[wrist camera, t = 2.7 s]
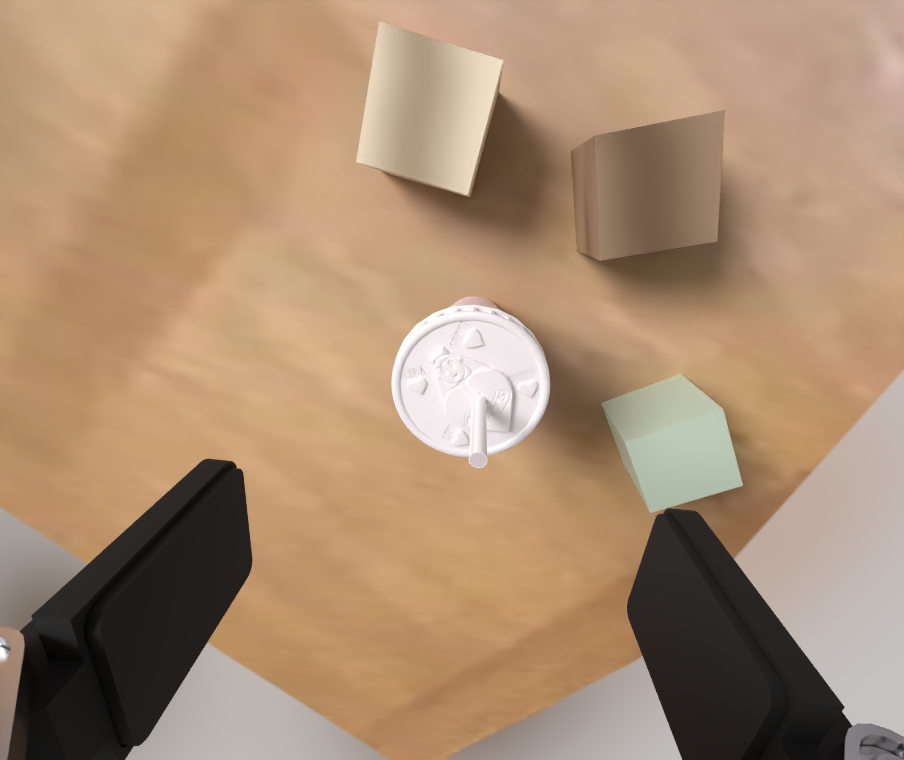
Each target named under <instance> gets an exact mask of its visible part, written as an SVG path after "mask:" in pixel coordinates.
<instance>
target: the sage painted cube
mask: <svg viewBox="0 0 904 760" xmlns="http://www.w3.org/2000/svg"><path fill="white" fill-rule="evenodd" d="M601 405H602V407H603V410H604V413H605V415H606V418H607V421H608V424H609V426H610V429H611V432H612V434H613V437H614V440H615V443H616V445H617V448H618V451H619V453H620V456H621V459H622V462H623V464H624V466H625V468H626V470H627V472H628V474H629V475H630V477H631V479H632V481H633V483H634V484H635V486H636V488H637V490H638V492H639V494H640V495H641V497H642V499H643V501H644V503H645V504H646V506H647V508H648V510H649V512H650V513H652V512H656V511H659V510H663V509H666V508H669V507H673V506H676V505H679V504H683V503H686V502H690V501H693V500H696V499H700V498H703V497H706V496H710V495H713V494H717V493H720V492H723V491H727V490H730V489H733V488H737V487H740V486H743V484H742V480H741V476H740V472H739V468H738V464H737V461H736V457H735V453H734V449H733V445H732V441H731V437H730V434H729V430H728V426H727V422H726V418H725V414H724V411H723V409H722V408H721V407H720V406H719V405H718V404H716V403H715V402H714V401H713V400H712V399H710V398H709V397H708V396H707V395H706V394H704V393H703V392H702V391H701V390H700V389H698V388H697V387H696V386H695V385H694V384H692V383H691V382H690V381H689V380H688V379H686V378H685V377H684V376H683V375H682V374H679V375H676V376H673V377H671V378H668V379H665V380H662V381H660V382H657V383H654V384H651V385H649V386H646V387H643V388H640V389H638V390H635V391H632V392H629V393H626V394H624V395H621V396H618V397H615V398H613V399H610V400H607V401H604V402H602V403H601Z"/></svg>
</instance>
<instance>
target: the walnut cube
mask: <svg viewBox="0 0 904 760" xmlns="http://www.w3.org/2000/svg"><path fill="white" fill-rule="evenodd" d="M724 115H725V110H723V111H718V112H713V113H708V114H703V115H698V116H693V117H688V118H683V119H678V120H673V121H668V122H662V123H657V124H652V125H647V126H642V127H637V128H632V129H627V130H622V131H617V132H612V133H607V134H602V135H597V136H594V137H592V138H591V139H589V140H588V141H586V142H584V143H583V144H581V145H580V146H578V147H577V148H575V149H574V150H572V151H571V159H572V175H573V192H574V208H575V225H576V242H577V251H579V252H581V253H583V254H586V255H588V256H590V257H592V258H595V259H597V260H599V261H602V260H608V259H614V258H620V257H626V256H632V255H638V254H645V253H651V252H657V251H663V250H669V249H675V248H681V247H688V246H694V245H700V244H706V243H712V242H717V241H718V223H719V205H720V187H721V169H722V151H723V133H724Z"/></svg>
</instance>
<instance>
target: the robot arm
mask: <svg viewBox="0 0 904 760" xmlns="http://www.w3.org/2000/svg"><path fill="white" fill-rule="evenodd" d="M251 567H252V552H251V542H250V533H249V523H248V514H247V505H246V495H245V486H244V476H243V472H242V470H241V469H238V468H237V467H236V465H235V463H234V462H232V461H225V460H215V459H205V460H203V461H202V462H200V463H199V464H198V465H197V466H196V467H195V468H194V469H193V470H192V471H190V472H189V473H188V474H187V475H186V476H185V477H184V478H183V479H182V480H180V481H179V482H178V483H177V484H176V485H175V486H174V487H173V488H172V489H171V490H169V491H168V492H167V493H166V494H165V495H164V496H163V497H162V498H161V499H160V500H158V501H157V502H156V503H155V504H154V505H153V506H152V507H151V508H150V509H149V510H147V511H146V512H145V513H144V514H143V515H142V516H141V517H140V518H139V519H137V520H136V521H135V522H134V523H133V524H132V525H131V526H130V527H129V528H128V529H126V530H125V531H124V532H123V533H122V534H121V535H120V536H119V537H118V538H117V539H115V540H114V541H113V542H112V543H111V544H110V545H109V546H108V547H107V548H105V549H104V550H103V551H102V552H101V553H100V554H99V555H98V556H97V557H96V558H94V559H93V560H92V561H91V562H90V563H89V564H88V565H87V566H86V567H85V568H84V569H83V570H81V571H80V572H79V573H78V574H77V575H76V576H75V577H74V578H73V579H71V580H70V581H69V582H68V583H67V584H66V585H65V586H64V587H62V588H61V589H60V590H59V591H58V592H57V593H56V594H55V595H54V596H53V597H51V598H50V599H49V600H48V601H47V602H46V603H45V604H44V605H43V606H42V607H41V608H39V609H38V610H37V611H36V612H35V613H34V614H33V615H32V619H33V620H32V621H31V622H30V623H28V624H27V625H26V626H25V627H24V628H23V629H22V630H21V631H20V632H19V631H18V630H17V629H14V628H9V627H5V626H0V760H125V759H126V757H127V756H128V754H129V753H130V751H131V749H132V748H133V746H139V745H140V744H142V743H143V742H144V741H145V740H146V739H147V737H148V736H149V735H150V733H151V732H152V730H153V728H154V727H155V725H156V723H157V722H158V720H159V719H160V717H161V715H162V714H163V712H164V711H165V709H166V707H167V706H168V704H169V703H170V701H171V700H172V698H173V696H174V695H175V693H176V691H177V690H178V688H179V687H180V685H181V683H182V682H183V680H184V679H185V677H186V675H187V674H188V672H189V671H190V669H191V667H192V666H193V664H194V663H195V661H196V659H197V658H198V656H199V655H200V653H201V651H202V649H203V648H204V647H205V645H206V643H207V642H208V640H209V639H210V637H211V635H212V634H213V632H214V631H215V629H216V627H217V626H218V624H219V623H220V621H221V619H222V618H223V616H224V615H225V613H226V611H227V610H228V608H229V607H230V605H231V603H232V602H233V600H234V599H235V597H236V595H237V594H238V592H239V590H240V589H241V587H242V586H243V584H244V582H245V581H246V579H247V578H248V576H249V573H250V571H251ZM627 613H628V618H629V621H630V624H631V626H632V629H633V632H634V634H635V637H636V639H637V642H638V645H639V647H640V650H641V653H642V655H643V658H644V660H645V663H646V666H647V668H648V671H649V674H650V676H651V678H652V681H653V684H654V686H655V689H656V692H657V694H658V697H659V700H660V702H661V705H662V708H663V710H664V713H665V716H666V718H667V721H668V723H669V726H670V729H671V731H672V734H673V736H674V739H675V741H676V744H677V747H678V750H679V752H680V755H681V757H682V760H904V737H903V736H901V735H899V734H897V733H895V732H893V731H891V730H889V729H886V728H883V727H880V726H877V725H873V724H856V725H854V726H852V725H851V723H850V722H849V721H848V719H847V718H846V717H845V715H844V714H843V713H842V710H843V709H844V706H843V704H842V703H841V702H840V700H839V699H838V698H837V696H836V695H835V694H834V692H833V691H832V690H831V689H830V687H829V686H828V684H827V683H826V682H825V680H824V679H823V678H822V676H821V675H820V674H819V672H818V671H817V670H816V669H815V667H814V666H813V664H812V663H811V662H810V660H809V659H808V658H807V656H806V655H805V654H804V652H803V651H802V650H801V648H800V647H799V646H798V645H797V643H796V642H795V640H794V639H793V638H792V636H791V635H790V634H789V632H788V631H787V630H786V628H785V627H784V626H783V624H782V623H781V622H780V620H779V619H778V618H777V617H776V615H775V614H774V612H773V611H772V610H771V608H770V607H769V606H768V605H767V603H766V602H765V600H764V599H763V598H762V596H761V595H760V594H759V593H758V591H757V590H756V588H755V587H754V586H753V584H752V583H751V582H750V581H749V579H748V578H747V577H746V575H745V574H744V573H743V571H742V570H741V568H740V567H739V566H738V564H737V563H736V562H735V560H734V559H733V558H732V556H731V555H730V554H729V553H728V551H727V550H726V549H725V547H724V546H723V545H722V543H721V542H720V541H719V539H718V538H717V537H716V535H715V534H714V533H713V531H712V530H711V529H710V527H709V526H708V525H707V523H706V522H705V521H704V519H703V518H702V517H701V515H700V514H699V513H698V512H696V511H691V510H681V509H672V508H669V509H666V510H665V511H664V513H663V514H658V515H657V517H656V519H655V521H654V524H653V527H652V530H651V533H650V536H649V539H648V542H647V545H646V548H645V551H644V554H643V557H642V560H641V563H640V566H639V569H638V572H637V575H636V578H635V581H634V584H633V587H632V590H631V593H630V596H629V599H628V603H627Z"/></svg>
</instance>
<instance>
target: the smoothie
mask: <svg viewBox="0 0 904 760" xmlns="http://www.w3.org/2000/svg"><path fill="white" fill-rule="evenodd" d="M392 394H393V399H394V403H395V406H396V408H397V411H398V413H399V415H400V417H401V419H402V420H403V422H404V423H405V425H406V426H407V427H408V429H409V430H410V431H411V432H412V433H413V434H414V435H415V436H416V437H417V438H419V439H420V440H421V441H423V442H424V443H425V444H427V445H429V446H430V447H432V448H434V449H436V450H439V451H441V452H444V453H447V454H450V455H455V456H461V457H469V462H470V464H471V465H472V466H473V467H476V468H481V467H483V466H485V465H486V463H487V456H489V455H493V454H497V453H500V452H502V451H505V450H507V449H509V448H511V447H513V446H515V445H516V444H518V443H519V442H521V441H522V440H523V439H525V438H526V437H527V436H528V435H529V434H530V433H531V432H532V431H533V430H534V429H535V427H536V426H537V425H538V423H539V422H540V420H541V418H542V416H543V414H544V412H545V410H546V407H547V404H548V400H549V395H550V375H549V370H548V365H547V362H546V358H545V355H544V351H543V349H542V347H541V345H540V344H539V342H538V341H537V339H536V338H535V336H534V334H533V333H532V332H531V331H530V330H529V329H528V328H527V327H526V326H525V325H523V324H522V323H521V322H520V321H519V320H518V319H517V318H515V317H513V316H511V315H509V314H507V313H505V312H503V311H501V310H500V309H499V308H498V307H497V306H496V305H495V304H494V303H493V302H492V301H490V300H488V299H486V298H483V297H478V296H470V297H466V298H463V299H460V300H459V301H457V302H456V303H454V304H453V305H452V306H451V307H450V308H447V309H444V310H441V311H438V312H435V313H433V314H432V315H430V316H429V317H427V318H426V319H424V320H423V321H421V322H420V323H418V324H417V325H416V326H415V327H414V329H413V330H412V331H411V332H410V333H409V334H408V336H407V337H406V338H405V339H404V341H403V343H402V345H401V348H400V350H399V352H398V354H397V357H396V361H395V364H394V368H393V373H392Z"/></svg>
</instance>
